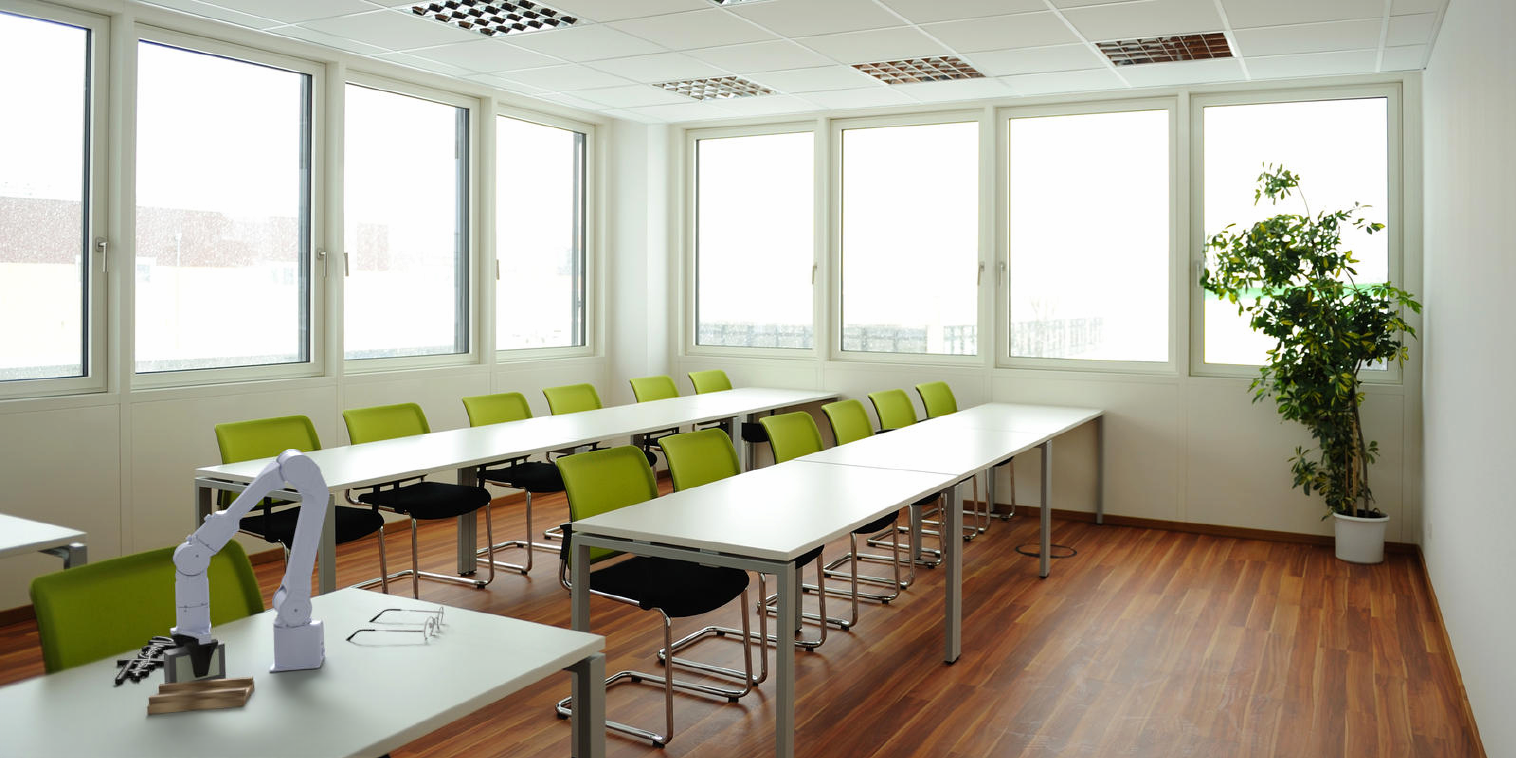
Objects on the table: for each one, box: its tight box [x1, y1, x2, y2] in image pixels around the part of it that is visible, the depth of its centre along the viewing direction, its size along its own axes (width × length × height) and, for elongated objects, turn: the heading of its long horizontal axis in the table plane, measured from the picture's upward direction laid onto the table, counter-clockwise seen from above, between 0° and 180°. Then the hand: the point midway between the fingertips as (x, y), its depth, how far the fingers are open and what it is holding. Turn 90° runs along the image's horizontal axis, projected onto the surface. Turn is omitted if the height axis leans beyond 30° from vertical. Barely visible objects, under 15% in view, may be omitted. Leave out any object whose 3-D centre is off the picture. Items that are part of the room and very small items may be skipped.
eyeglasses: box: [345, 606, 445, 641], centre depth 236 cm, size 16×19×5 cm
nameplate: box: [114, 635, 177, 686], centre depth 215 cm, size 27×2×10 cm
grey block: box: [162, 639, 227, 684], centre depth 204 cm, size 10×4×7 cm, turn 135°
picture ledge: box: [146, 676, 255, 715], centre depth 194 cm, size 16×9×3 cm, turn 105°
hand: (195, 671), depth 204 cm, fingers open, 7 cm apart
